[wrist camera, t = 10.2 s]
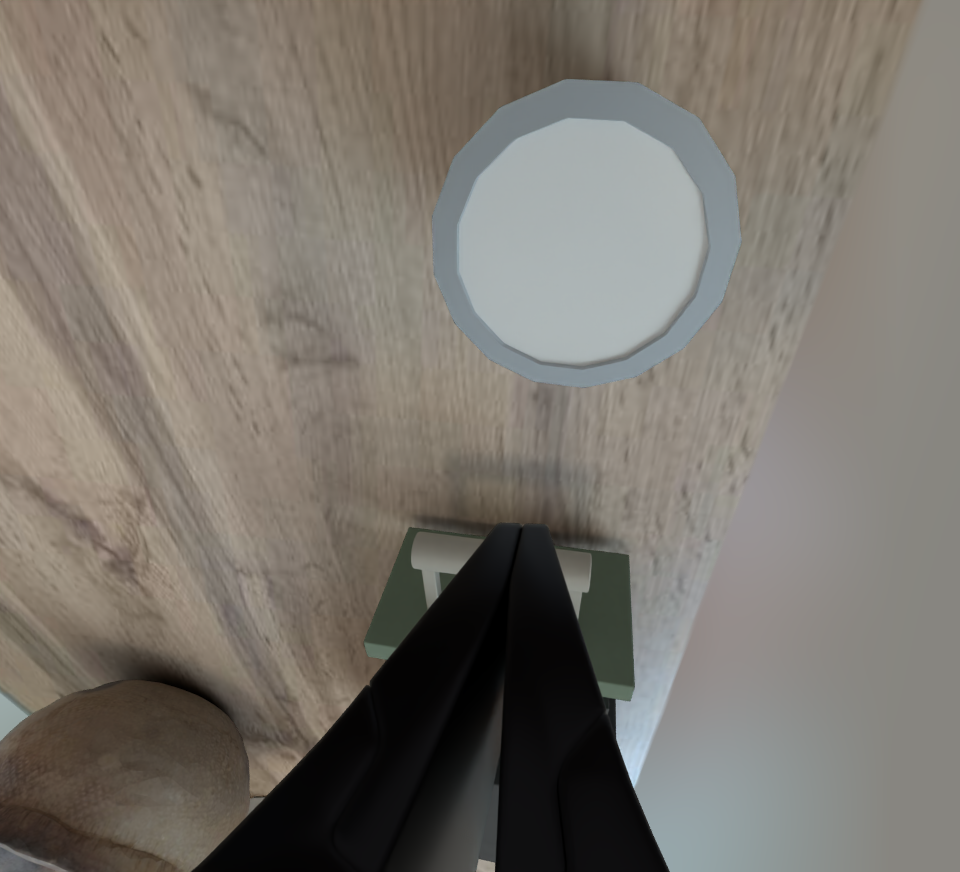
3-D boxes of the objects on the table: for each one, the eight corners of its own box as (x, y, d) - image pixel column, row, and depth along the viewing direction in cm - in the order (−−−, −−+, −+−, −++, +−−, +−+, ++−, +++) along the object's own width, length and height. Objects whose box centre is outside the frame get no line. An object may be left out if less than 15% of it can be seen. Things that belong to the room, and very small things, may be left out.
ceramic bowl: (199, 757, 62) (104, 927, 50) (33, 657, 52) (-132, 837, 40) (331, 747, 52) (250, 956, 40) (155, 619, 42) (-18, 845, 30)
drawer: (397, 457, 25) (342, 572, 20) (644, 483, 23) (656, 617, 18) (429, 653, 35) (398, 762, 30) (600, 682, 34) (599, 803, 28)
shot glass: (466, 84, 16) (395, 111, 11) (706, 37, 14) (767, 40, 9) (499, 297, 20) (459, 395, 15) (690, 279, 18) (725, 384, 13)
